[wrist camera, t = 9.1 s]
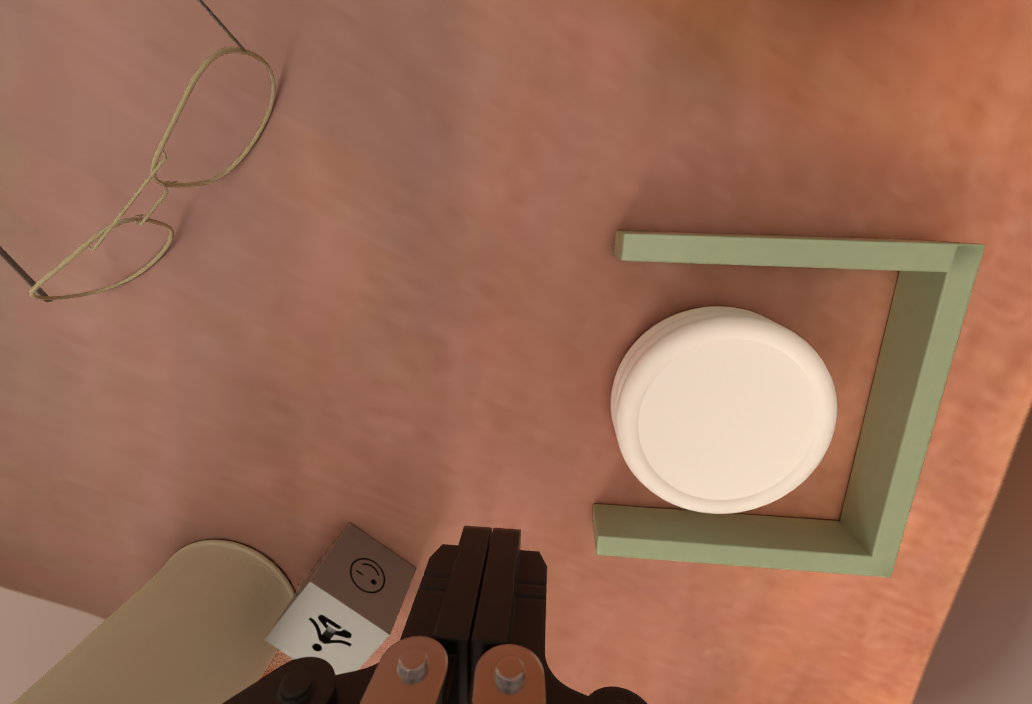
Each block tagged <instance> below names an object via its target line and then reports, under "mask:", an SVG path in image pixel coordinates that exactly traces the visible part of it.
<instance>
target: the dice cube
mask: <svg viewBox="0 0 1032 704" xmlns="http://www.w3.org/2000/svg"><path fill="white" fill-rule="evenodd" d="M415 570H416V568H415V567H413V566H412V565H410V564H409V563H408V562H406V561H405V560H403V559H402V558H400V557H399V556H397V555H396V554H394V553H393V552H392V551H390V550H389V549H387V548H386V547H384V546H383V545H381V544H380V543H379V542H377V541H376V540H374V539H373V538H371V537H370V536H368V535H367V534H365V533H364V532H363V531H361V530H360V529H358V528H357V527H355V526H354V525H352V524H351V523H349V524H348V525H347V526H346V528H345V529H344V530H343V531H342V533H341V534H340V535H339V537H338V538H337V539H336V540H335V542H334V543H333V544H332V545H331V547H330V548H329V549H328V550H327V552H326V553H325V554H324V556H323V557H322V558H321V559H320V561H319V562H318V563H317V564H316V566H315V567H314V568H313V569H312V571H311V572H310V573H309V575H308V576H307V577H306V579H305V580H304V582H303V583H302V585H301V586H300V588H299V589H298V591H297V592H296V593H295V595H294V596H293V598H292V599H291V601H290V602H289V604H288V605H287V607H286V608H285V609H284V611H283V612H282V614H281V615H280V617H279V618H278V620H277V621H276V623H275V624H274V625H273V627H272V628H271V630H270V631H269V633H268V634H267V636H266V637H265V639H264V640H265V641H266V642H268V643H269V644H271V645H272V646H274V647H276V648H277V649H279V650H280V651H282V652H283V653H285V654H286V655H288V656H290V657H291V658H293V659H294V660H295V659H298V658H303V657H318V658H321V659H324V660H326V661H327V662H328V663H329V664H330V665H331V666H332V667H333V669H334V672H335V675H338V674H342V673H347V672H352V671H357V670H359V668H360V667H361V666H362V665H363V664H364V663H365V662H366V661H367V660H368V659H369V657H370V656H371V655H372V654H373V653H374V652H375V651H376V650H377V649H378V647H379V646H380V645H381V644H382V643H383V642H384V641H385V640H386V639H387V638H388V636H389V635H390V633H391V631H392V628H393V626H394V623H395V621H396V618H397V616H398V613H399V611H400V608H401V606H402V603H403V601H404V598H405V596H406V593H407V591H408V588H409V586H410V583H411V580H412V578H413V575H414V573H415Z"/></svg>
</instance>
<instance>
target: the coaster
mask: <svg viewBox="0 0 1032 704" xmlns="http://www.w3.org/2000/svg"><path fill="white" fill-rule="evenodd" d="M611 415H612V421H613V425H614V429H615V433H616V436H617V440H618V444H619V448H620V451H621V453H622V455H623V458H624V460H625V462H626V463H627V465H628V467H629V468H630V470H631V471H632V473H633V474H634V475H635V476H636V477H637V479H638V480H639V481H640V482H641V483H642V484H644V485H645V486H646V487H647V488H648V489H649V490H650V491H651V492H653V493H654V494H656V495H657V496H659V497H660V498H662V499H664V500H665V501H667V502H669V503H671V504H673V505H676V506H679V507H682V508H685V509H688V510H692V511H697V512H703V513H712V514H729V513H737V512H743V511H748V510H752V509H756V508H759V507H761V506H764V505H767V504H770V503H772V502H774V501H776V500H778V499H780V498H782V497H783V496H785V495H786V494H788V493H789V492H791V491H793V490H794V489H795V488H796V487H798V486H799V485H800V484H801V483H802V482H804V481H805V480H806V479H807V477H808V476H809V475H810V474H811V473H812V472H813V471H814V470H815V468H816V467H817V466H818V464H819V463H820V462H821V460H822V458H823V457H824V455H825V453H826V451H827V449H828V447H829V444H830V442H831V440H832V436H833V433H834V429H835V425H836V418H837V399H836V392H835V387H834V384H833V381H832V378H831V376H830V374H829V372H828V370H827V368H826V366H825V364H824V362H823V360H822V359H821V358H820V356H819V355H818V353H817V352H816V351H815V350H814V349H813V348H812V347H811V346H810V345H809V344H808V343H807V342H806V341H805V340H804V339H802V338H801V337H800V336H798V335H797V334H796V333H794V332H793V331H791V330H789V329H787V328H785V327H783V326H782V325H779V324H777V323H775V322H774V321H772V320H770V319H767V318H766V317H764V316H762V315H760V314H757V313H754V312H751V311H748V310H744V309H739V308H735V307H724V306H712V307H701V308H696V309H691V310H687V311H684V312H681V313H678V314H675V315H673V316H671V317H669V318H666V319H664V320H662V321H661V322H659V323H658V324H656V325H654V326H653V327H651V328H650V329H649V330H648V331H646V332H645V333H644V334H643V335H642V336H641V337H640V338H639V339H638V340H637V341H636V342H635V343H634V344H633V345H632V347H631V348H630V349H629V351H628V352H627V353H626V355H625V356H624V358H623V360H622V362H621V363H620V365H619V368H618V370H617V373H616V375H615V379H614V383H613V386H612V393H611Z"/></svg>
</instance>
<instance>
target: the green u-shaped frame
mask: <svg viewBox="0 0 1032 704" xmlns="http://www.w3.org/2000/svg"><path fill="white" fill-rule="evenodd" d="M984 247H985V245H984V244H974V243H961V242H948V241H935V240H906V239H874V238H842V237H810V236H778V235H746V234H714V233H682V232H650V231H618V230H617V231H616V235H615V248H614V255H615V256H616V257H618V258H619V259H620V260H622V261H638V262H666V263H694V264H722V265H750V266H779V267H807V268H835V269H863V270H891V271H899V276H898V280H897V284H896V288H895V292H894V296H893V301H892V305H891V309H890V313H889V317H888V322H887V326H886V330H885V334H884V338H883V342H882V347H881V351H880V355H879V359H878V363H877V367H876V372H875V376H874V380H873V384H872V388H871V393H870V397H869V401H868V405H867V409H866V413H865V418H864V422H863V426H862V430H861V434H860V438H859V443H858V447H857V451H856V455H855V459H854V464H853V468H852V472H851V476H850V480H849V484H848V489H847V493H846V497H845V501H844V505H843V509H842V514H841V518H840V521H833V520H819V519H805V518H790V517H776V516H762V515H747V514H733V513H729V514H712V513H703V512H697V511H690V510H676V509H662V508H647V507H633V506H619V505H604V504H594V507H593V520H592V522H593V530H594V539H595V548H596V554H597V555H603V556H616V557H629V558H642V559H655V560H668V561H681V562H694V563H707V564H720V565H733V566H746V567H759V568H772V569H785V570H798V571H811V572H824V573H837V574H850V575H863V576H876V577H889V578H890V577H891V576H892V572H893V569H894V565H895V561H896V558H897V554H898V551H899V547H900V544H901V540H902V536H903V533H904V529H905V526H906V522H907V519H908V515H909V512H910V508H911V505H912V501H913V498H914V494H915V490H916V487H917V483H918V480H919V476H920V473H921V469H922V466H923V462H924V459H925V455H926V452H927V448H928V444H929V441H930V437H931V434H932V430H933V427H934V423H935V420H936V416H937V413H938V409H939V405H940V402H941V398H942V395H943V391H944V388H945V384H946V381H947V377H948V374H949V370H950V367H951V363H952V359H953V356H954V352H955V349H956V345H957V342H958V338H959V335H960V331H961V328H962V324H963V321H964V317H965V313H966V310H967V306H968V303H969V299H970V296H971V292H972V289H973V285H974V282H975V278H976V274H977V272H978V269H979V265H980V261H981V258H982V254H983V251H984Z"/></svg>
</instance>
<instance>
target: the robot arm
mask: <svg viewBox="0 0 1032 704" xmlns="http://www.w3.org/2000/svg"><path fill="white" fill-rule="evenodd" d="M520 544H521V530H518V529H505V528H493V533H492V528H490V527H476V526H464V528H463V532H462V535H461V538H460V542H459V545H445V544H442V545H441V546H440V548H439V549H438V550H437V551H436V552H435V553H434V554H433V555H432V556H431V557H430V558H429V561H428V564H427V567H426V569H425V572H424V576H423V578H422V581H421V583H420V587H419V589H418V592H417V594H416V597H415V600H414V603H413V605H412V608H411V611H410V614H409V617H408V619H407V622H406V625H405V628H404V630H403V633H402V636H401V639H400V641H398V642H396V643H395V644H393V645H392V646H391V647H390V648H389V649H387V651H386V652H385V653H384V654H383V656H382V658H381V659H380V662H379V663H377V664H375V665H373V666H370V667H368V668H365V669H361V670H357V671H352V672H347V673H342V674H338V675H335V672H334V669H333V667H332V666H331V665H330V664H329V663H328V662H327V661H326V660H324V659H321V658H318V657H303V658H298V659H295V660H292V661H290V662H287V663H286V664H284V665H282V666H280V667H279V668H277V669H276V670H274V671H272V672H271V673H269V674H268V675H266V676H265V677H263V678H261V679H260V680H258V681H257V682H255V683H254V684H252V685H250V686H249V687H247V688H246V689H244V690H243V691H241V692H239V693H238V694H236V695H235V696H233V697H232V698H230V699H228V700H227V701H225V702H224V703H222V704H647V703H646V702H645V701H644V700H643V699H642V698H641V697H639V696H638V695H637V694H635V693H633V692H631V691H630V690H627V689H624V688H620V687H604V688H600V689H598V690H596V691H594V692H593V693H592V694H590V695H589V696H586V695H584V694H582V693H579V692H577V691H575V690H573V689H571V688H569V687H567V686H565V685H564V684H563V683H561V682H560V681H559V680H558V679H557V678H556V677H555V676H554V675H553V674H552V672H551V670H550V669H549V667H548V665H547V662H546V658H545V622H546V584H547V565H546V564H545V562H544V560H543V558H542V556H541V554H540V552H537V551H524V550H520Z"/></svg>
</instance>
